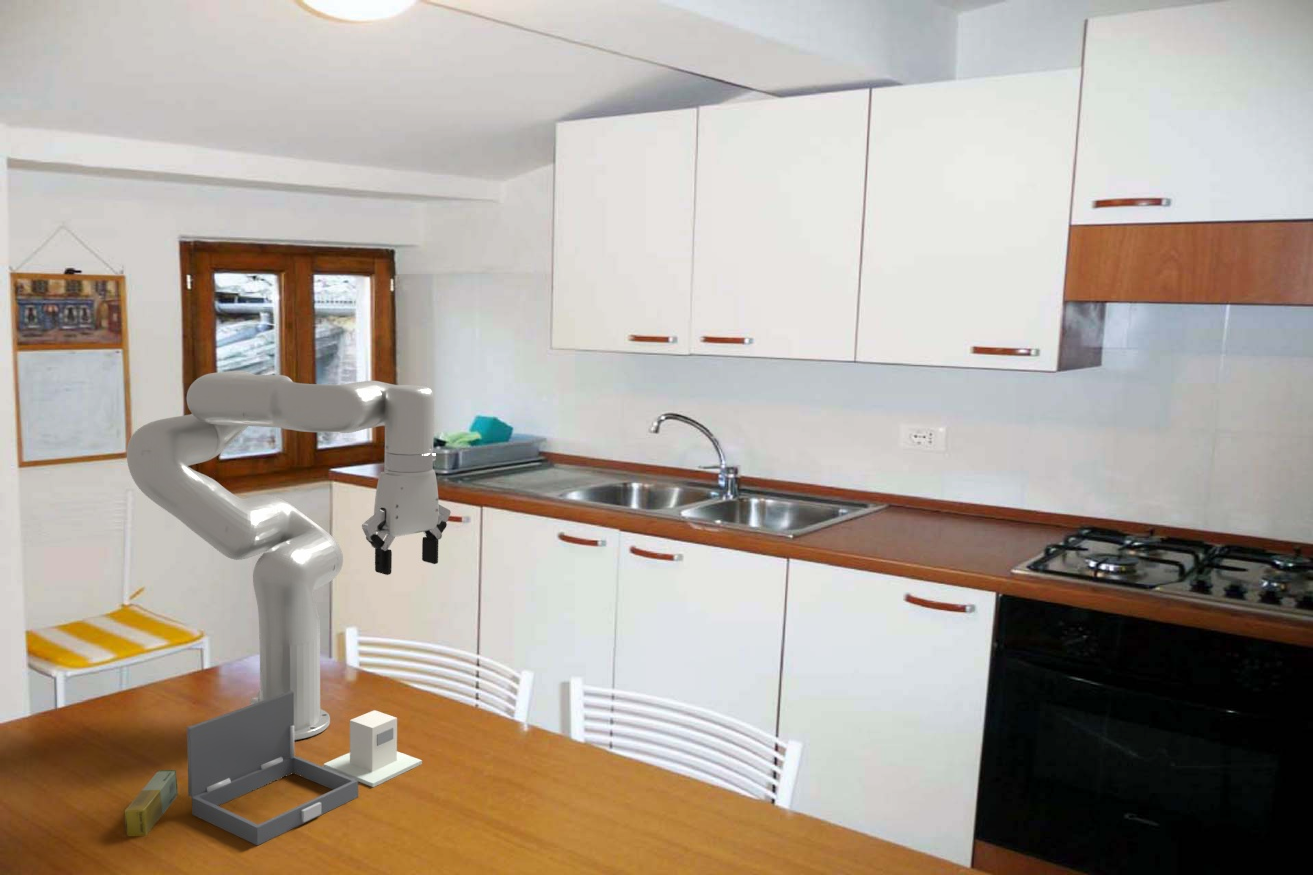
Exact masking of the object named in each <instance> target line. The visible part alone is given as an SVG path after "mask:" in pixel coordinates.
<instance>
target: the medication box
mask: <svg viewBox="0 0 1313 875" xmlns="http://www.w3.org/2000/svg"><path fill="white" fill-rule="evenodd" d="M176 771H177V770H175V769H165V770H164V769H163V770H157V772H156V773H155V774H154V775H153V776H152V778H150V780H149V781H148V783H146V785H145V786H144V787H143V788H142V789H141V790H140V792H139V793H138V795H136V797H135V798H134V799H133V800H132V802H131V803H130V804H129V805H128V807H126V809H125V810H124V822H125V823H124V824H125V831H126V837H144V836H147V835H148V834H149V832H151V830H152V829H153V827H154V826H155V825H156V824H157V822H158V821H159V820H160V818H161V817H162V816H163V815H164V813H165V812H166V811H167V810H168V809H169V807H170V806H171V805H172V803H173V802H174V800H176V798H177V797H178V796H179V795H178V782H177V781H178V780H177V779H178V778H177V772H176Z"/></svg>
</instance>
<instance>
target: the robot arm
mask: <svg viewBox="0 0 1313 875" xmlns="http://www.w3.org/2000/svg"><path fill="white" fill-rule="evenodd" d="M186 392H187V393H186V403H187V408H188V409H189V412H190V413H191V414H186V415H180V416H173V417H166V418H162V419H156V420H154V421H151V422H148V423H147V424H143V426H141V427H140V428H138V429H137V430H136V431H134V432H133V434H132V435H131V437H130V439H129V441H128V443H127V449H126V462H127V466H128V470H129V474H130V476H131V478H132V480H133V481H134V484H135V485H136V486H137V488H138V489H139V490H140V491H141V492H142V493H143V494H144V496H146V497H147V498H148V499H150V500H151V501H152V502H153V503H154V504H156V505H157V506H159V507H160V508H161V509H163V510H165V511H166V512H168V513H169V514H171V515H172V516H173V517H175V518H176V519H177V520H179V521H180V522H181V523H182V524H183V525H185V526H186V527H187V528H188V529H189V530H191V531H192V532H194V533H195V534H196V535H197V536H198V537H200V538H201V539H202V540H204V541H205V542H207V543H208V544H209V545H210V546H211V547H213V548H214V549H216V551H218V552H219V553H220V554H222V555H223V556H225V557H227V558H229V559H231V560H236V561H238V560H239V561H242V560H246V559H249V558H252V557H255V556H258V555H260V554H261V555H260V557H259V558H258V560H256V563H255V565H254V568H253V573H252V584H253V591H254V594H255V598H256V605H257V610H258V611H257V613H258V628H259V629H258V631H259V632H258V635H259V691H258V692H257V694H256V697H252V698H251V699H250V702H249V703H250V704H249V705H252V704H255V703H258V702H261V701H264V700H267V699H269V698H272V697H275V696H278V695H281V694H284V693H287V692H289V691H291V692H294V741H297V740H302V739H306V738H310V737H313V736H316V735H318V734H320V733H322V732H324V731H325V730H326V729H327V728H328V727H329V725H330V723H331V717H330V714H329V713H328V712H327V711H326V710H324V709H322V708H321V630H320V628H321V627H320V626H321V623H320V615H319V610H318V607H317V604H316V601H315V596H314V591H316V590H317V589H319V588H322V587H323V586H325V585H326V584H329V583H330V582H331V581H333V580H334V579H335V578H336V577H337V576H338V575H339V574H340V572H341V570H342V568H343V562H344V556H343V555H344V554H343V551H342V548H341V546H340V545H339V543H338V541H337V540H336V539H335V538H334V537H333V536H332V535H331V534H330V533H329V532H327V530H325V529H324V528H323V527H321V526H320V525H318V524H317V523H316V522H315V521H313V520H312V519H311V518H310V517H308V516H307V515H306V514H304V513H303V512H302V511H300V510H299V509H297V508H296V507H295V506H294V505H292V504H291V503H290V502H288V501H286V500H285V499H282V498H280V497H278V496H275V495H271V494H259V495H255V496H250V497H249V498H247V497H246V498H242V497H239V496H237V495H235V494H233V493H232V492H231V491H230V490H228V489H227V488H225V487H224V486H222V485H221V484H220V483H219V482H218V481H216V480H215V479H214V478H213V477H209V476H208V475H206V474H203V473H201V472H199V471H196V470H195V469H193V468H191V467H190V466H193V465H196V464H200V463H205V462H208V461H210V460H212V459H214V458H216V457H217V456H219V455H220V454H221V453H222V452H223V451H224V450H225V449H227V448H228V447H229V446H230V445H231V444H232V443H233V442H234V441H236V439H237V438H238V437H239V436H240V435H241V434H242V433H244V432H245V430H247V428H249V427H261V428H277V429H278V428H279V429H283V430H291V431H295V432H296V431H297V432H307V433H324V434H325V433H328V434H329V433H330V434H349V433H350V434H352V433H355V432H360V431H363V430H366V429H371V428H377V427H382V426H383V427H384V469H383V470H384V471H381V472H379V476H378V481H377V485H376V491H375V496H374V497H375V498H374V508H373V510H374V511H373V515H371V516H370V518H368V519H367V520H365V521H364V522H363V523H362V524H361V528H362V531H363V533H364V535H365V539H366V541H367V542H368V543H369V544H370V545H371V548H373V549H374V571H375V572H376V573H379V574H382V575H385V576H388V575H391V574H392V568H393V567H392V566H393V565H392V564H393V563H392V560H393V559H392V558H393V557H392V556H393V553H392V552H393V551H392V550H391V549H389V548H390V546H391V545H392V543H393V541H394V540H395V539H396V537H403V536H410V535H413V534H418V533H423V534H424V535H425V536H424V537H422V539H421V540H422V543H421V546H422V547H421V560H422V561H423V562H425V563H429V564H433V565H436V564H438V563H439V540H441V539H442V538H443V533H444V531H445V529H446V528H447V525H448V524H447V522H448V521H449V519H450V516H451V510H450V509H448V508H447V507H445V506H442V505H440V502H439V491H438V482H437V476H436V470H434V469H433V468H434V462H435V461H436V460H437V455H436V453H434V428H435V427H434V426H435V421H434V419H435V416H434V415H435V395H434V391H433V390H432V389H431V388H430V387H428V386H425V385H419V384H418V385H416V384H392V383H387V382H383V381H379V380H363V381H355V382H350V383H344V384H317V383H316V384H315V383H302V382H301V383H300V382H295V381H293V380H292V379H291V378H290V377H289V376H287V375H283V374H254V373H253V372H250V371H246V370H229V371H228V370H227V371H218V372H212V373H207V374H204V375H201V376H199V377H198V378H196V380H194V381H193V382H192V383H191V385H190V386H189V387H188V389H187V391H186Z"/></svg>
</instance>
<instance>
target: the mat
mask: <svg viewBox="0 0 1313 875" xmlns="http://www.w3.org/2000/svg"><path fill="white" fill-rule="evenodd" d="M422 764H423V760H422V759H419V758H417V757H414V756H412V755H409V754H406V753H403V752H400V751H398V750H397V761H395V762H393V763H391V764H389V765H386V766H384V767H382V768H380V769H378V770H376V771H373V772H371V771H369V770H366V769H363V768H361V767H358V766H356V765H353V764H350V752H348V753H345V754H343V755H340V756H338V757H336V758H334V759H332V760H330V761H327V762H325V763H323V764H322V765H323V766H322V767H325V768H327V769H330V770H332V771H335V772H338V773H340V774H343V775H345V776H348V777H350V778H353V779H355V780H358V783H361V784H364V785H366V786H369V787H371V788H374V787H377V786H379V785H382V784H383V783H386V782H387V781H389V780H391V779H394V778H396V777H398V776H400V775H402V774H404V773H406V772H408V771H410V770H412V769H414V768H417V767H419V766H421V765H422Z"/></svg>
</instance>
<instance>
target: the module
mask: <svg viewBox="0 0 1313 875" xmlns="http://www.w3.org/2000/svg"><path fill="white" fill-rule="evenodd" d="M397 751H398V717H395V716H393V715H389V714H387V713H385V712H384V713H383V712H381V711H378V710H376V709H373V710H371V711H369V712H367V713H364V714H362V715H359V716H357V717H354V718H352V719H350V720H349V753H350V764H353V765H356V766H358V767H361V768H363V769H366V770H369V771H371V772H373V771H376V770H378V769H380V768H382V767H384V766H386V765H389V764H391V763H393V762H395V761H397Z"/></svg>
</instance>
